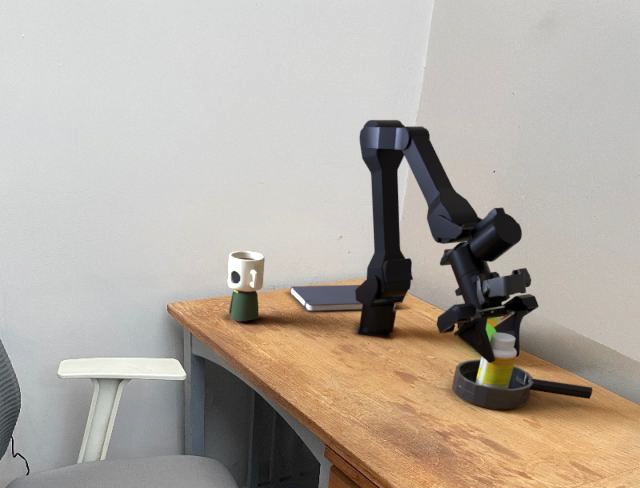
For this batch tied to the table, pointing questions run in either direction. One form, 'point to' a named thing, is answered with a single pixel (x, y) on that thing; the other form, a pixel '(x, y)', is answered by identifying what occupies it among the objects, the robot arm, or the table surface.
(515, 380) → the skillet
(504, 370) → the supplement bottle
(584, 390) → the skillet handle
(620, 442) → the table surface
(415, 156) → the robot arm
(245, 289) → the character mug
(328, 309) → the notebook
